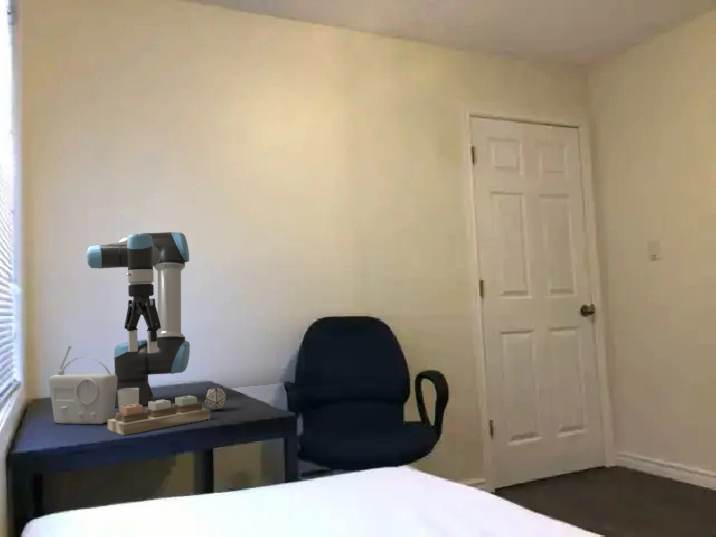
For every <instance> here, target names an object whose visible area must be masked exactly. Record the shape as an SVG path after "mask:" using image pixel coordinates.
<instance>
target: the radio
mask: <svg viewBox="0 0 716 537" xmlns="http://www.w3.org/2000/svg"><path fill="white" fill-rule="evenodd" d="M72 347H73V345H71V344H70V345H68V348H67V351H66V353H65V355H64V357H63V360H62V362H61V365H60V366H59V370H58V371H57V374H54V375H51V376H50V377H49V379H48V386H49V387H48V388H49V393H50V399H51V400H50V401H51V407H52V412H53V421H54V422H55V423H57V424H64V425H65V424H69V425H70V424H71V425H76V424H77V425H103V424H105V423H107V420H108V419H114V418H115V409H116V407H115V400H116V390H117V376H116V374H115V372H111V371H110V370H109V369H108V367H107V365H105V364H104V363H103V362H102V361H100V360H98V359H96V358H95V357H89V356H82V357H80V359H81V358H86V359H92V360H94V361H95V362H98V363H99V364H100V365H101V366H102V367H104V369H105V371H106V373H105V372H87V373H86V372H75V373H73V372H70V373H67V372H65V370H66V368H67V367H68V366H69V365H70V364H71V362H74V361H76V360H77V359H79V357H76V358H73V359H72V360H70V361H68V363H66V365H65V366H64V364H65V362H66V360H67V358H68V355H69V353H70V351H71V349H72Z"/></svg>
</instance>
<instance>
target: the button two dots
mask: <svg viewBox="0 0 716 537" xmlns="http://www.w3.org/2000/svg"><path fill="white" fill-rule="evenodd" d="M171 404H172V403H171V400H167V399H157V400H154V401H151V402H148V407H147V408H148V409H151V410H161V409H167V408H171Z"/></svg>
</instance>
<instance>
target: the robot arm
mask: <svg viewBox="0 0 716 537" xmlns="http://www.w3.org/2000/svg"><path fill="white" fill-rule="evenodd" d="M188 245H189V244H188V241H187V237H186V235H185V234H184V233H183V232H178V231H177V232H173V231H171V232H169V231H168V232H147V233H146V232H143V233H134V234H133V233H132V234H129V235H128V236H127V237H123V238H122V239H120V240H119V241H118V242H113V243H108V244H102V245H101V244H97V245H96V244H95V245H90V246H89V247H88V249H87V250H86V260H87V264H88V266H89V267H90V268H91V269H99V270H100V269H115V268H116V269H117V268H127V273H126V276H127V277H128V278H127V279H128V280H127V281H128V283H129V284H128V286H127V289H128V290H127V291H128V293H127V295H128V297H130V298H132V299H128V301H127V302H128V303H127V312H126V316H125V317H126V318H125V321H124V328H123V329H124V330H126V331H127V335H128V336H127V338H128V339H127V341H128V342H123V343H119V344H117V345H116V346H115V347H114V356H113V360H114V374H116V376H117V390H119V389H125V388H139V405H143V406H147V405H148V402H151V401H155V397H154V393H153V391H152V388H151V386H150V382H149V376H150V375H166V374H167V375H168V374H172V375H174V374H181V373H184V372H185V371H186V369H187V368H188V365H189V360H190V353H191V352H190V351H191V350H190V349H191V347H190V346H191V345H190V342H189V341H188V340H186V336H185V335H184V334H183V333H182V271H183V269H185V268H186V263H188V262H189V261H190V251H189V246H188ZM154 269H155V270H156V271H157V305H156V299H155V298H150V297H153V296H154V294H155V293H154V292H155V288H154V284H153V283H154V278H155V277H154ZM141 315H142V316H143V319H144V321H145V323H146V324H145V325H146V327H147V329H146V332H147V334H146V335H147V339H139V340H138V324H139V322H140V319H141ZM117 390H116V400H115V408H118V395H117Z"/></svg>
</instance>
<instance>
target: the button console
mask: <svg viewBox="0 0 716 537" xmlns="http://www.w3.org/2000/svg"><path fill="white" fill-rule="evenodd" d="M206 419H208V420H210V419H211V410H209V408H204V407H203V402H199V401H197V404H191V405H185V406H180V405H176V404H175V402H174V403H171V408H167V409H161V410H151V409H148V407H143V413H136V414H130V415H124V414H120V412H119V411H118V412H114V418H113V419H108V420H107V422H106V423H107V430H109V431H111V432H114V433H117V434H119V435H122V436H127V435H132V434H136V433H143V432H149V431H153V430H158V429H164V428H170V427H175V425H176V426H179V425H180V424H181V425H186V424H190V423H191V422H192V423H197V422H202V421H206ZM201 420H202V421H201ZM196 421H197V422H196ZM185 423H186V424H185ZM181 425H180V426H181Z"/></svg>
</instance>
